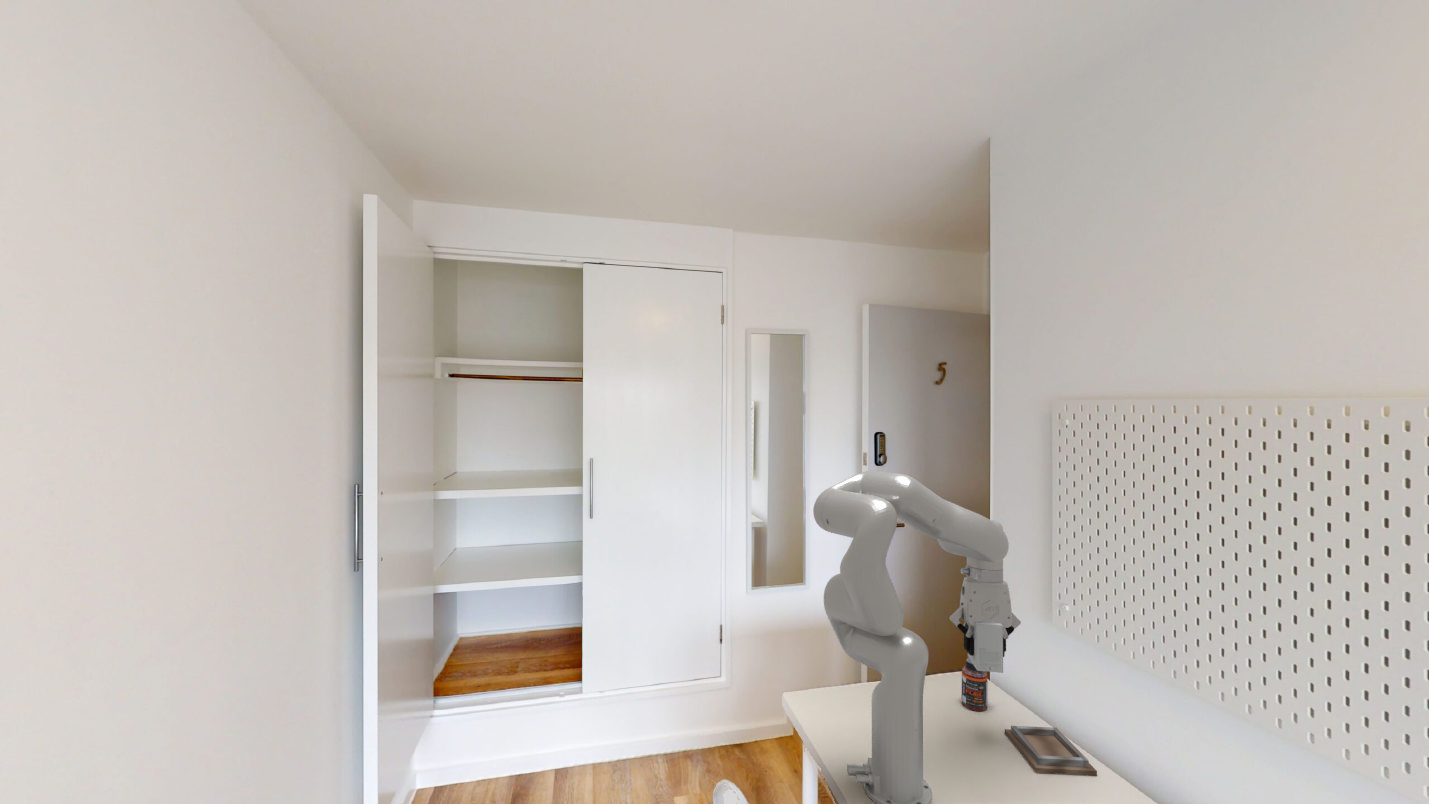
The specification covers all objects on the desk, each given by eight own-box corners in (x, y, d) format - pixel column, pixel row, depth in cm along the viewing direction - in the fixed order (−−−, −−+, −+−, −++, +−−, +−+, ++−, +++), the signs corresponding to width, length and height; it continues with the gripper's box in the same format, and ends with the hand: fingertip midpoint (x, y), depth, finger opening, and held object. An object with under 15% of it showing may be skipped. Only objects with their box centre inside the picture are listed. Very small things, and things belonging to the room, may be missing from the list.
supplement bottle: (963, 710, 137) (963, 664, 137) (960, 698, 142) (959, 654, 143) (989, 713, 135) (989, 667, 135) (985, 701, 140) (985, 657, 141)
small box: (1003, 673, 121) (1003, 625, 121) (976, 671, 122) (976, 623, 122) (992, 658, 128) (992, 613, 129) (967, 656, 130) (967, 611, 130)
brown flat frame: (1035, 772, 112) (1035, 761, 113) (1004, 733, 126) (1004, 723, 126) (1096, 775, 112) (1096, 763, 112) (1058, 735, 126) (1058, 725, 126)
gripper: (952, 577, 123) (951, 659, 122) (1032, 580, 121) (1032, 662, 121) (940, 568, 130) (940, 645, 129) (1015, 571, 129) (1015, 648, 128)
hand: (984, 653), depth 125 cm, fingers closed on small box, 6 cm apart
